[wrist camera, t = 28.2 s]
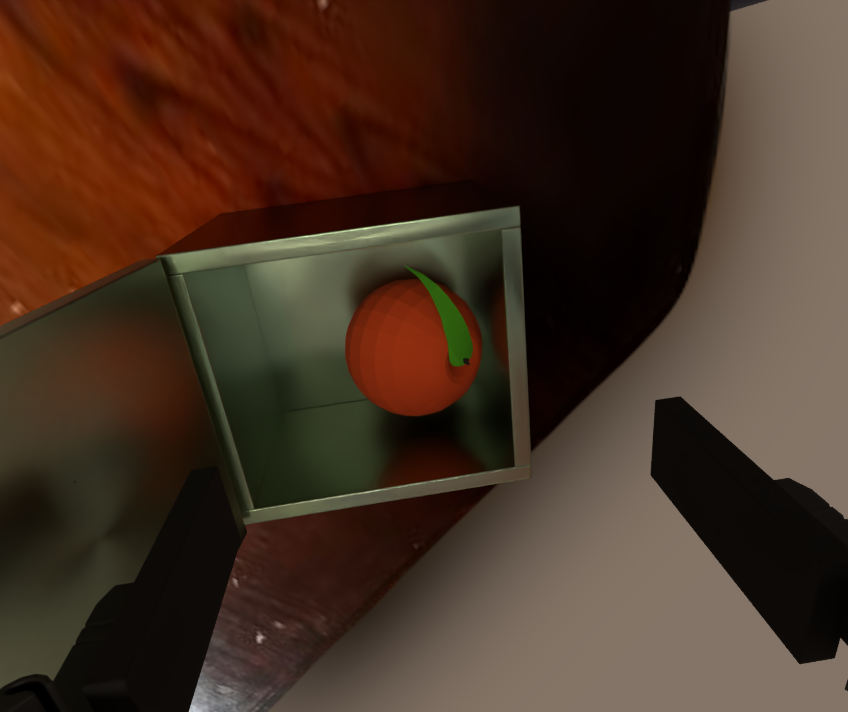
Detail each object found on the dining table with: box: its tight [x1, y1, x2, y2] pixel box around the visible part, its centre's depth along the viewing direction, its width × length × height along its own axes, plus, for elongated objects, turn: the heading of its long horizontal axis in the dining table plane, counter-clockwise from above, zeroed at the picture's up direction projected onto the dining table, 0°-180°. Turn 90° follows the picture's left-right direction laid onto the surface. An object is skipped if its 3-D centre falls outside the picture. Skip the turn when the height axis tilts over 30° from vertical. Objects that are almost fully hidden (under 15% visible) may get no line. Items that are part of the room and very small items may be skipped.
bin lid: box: [0, 259, 247, 689], centre depth 15 cm, size 14×13×1 cm
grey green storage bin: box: [156, 180, 532, 525], centre depth 27 cm, size 14×13×10 cm
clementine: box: [345, 266, 482, 416], centre depth 27 cm, size 8×7×7 cm
